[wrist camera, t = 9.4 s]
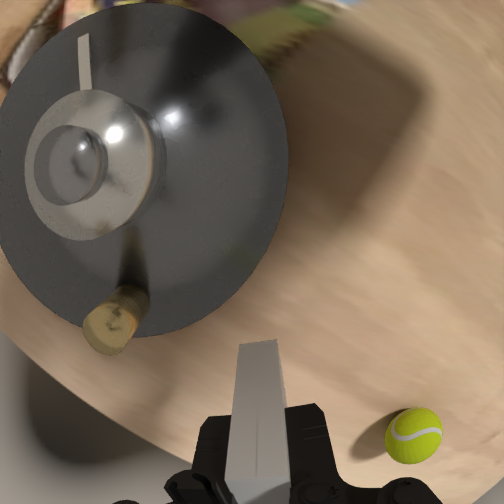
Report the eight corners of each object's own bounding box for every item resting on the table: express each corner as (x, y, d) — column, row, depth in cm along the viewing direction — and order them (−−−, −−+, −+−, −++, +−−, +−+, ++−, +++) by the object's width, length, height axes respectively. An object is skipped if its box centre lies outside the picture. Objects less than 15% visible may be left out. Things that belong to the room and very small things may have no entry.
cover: (51, 123, 19) (3, 117, 13) (157, 84, 18) (124, 60, 13) (70, 237, 21) (24, 257, 15) (178, 214, 20) (149, 232, 15)
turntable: (-8, 85, 19) (-56, 77, 12) (249, -19, 17) (245, -72, 10) (42, 333, 26) (3, 369, 19) (310, 303, 24) (327, 353, 17)
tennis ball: (424, 385, 28) (448, 425, 22) (433, 416, 29) (454, 453, 23) (370, 415, 29) (387, 459, 23) (386, 443, 31) (400, 482, 24)
